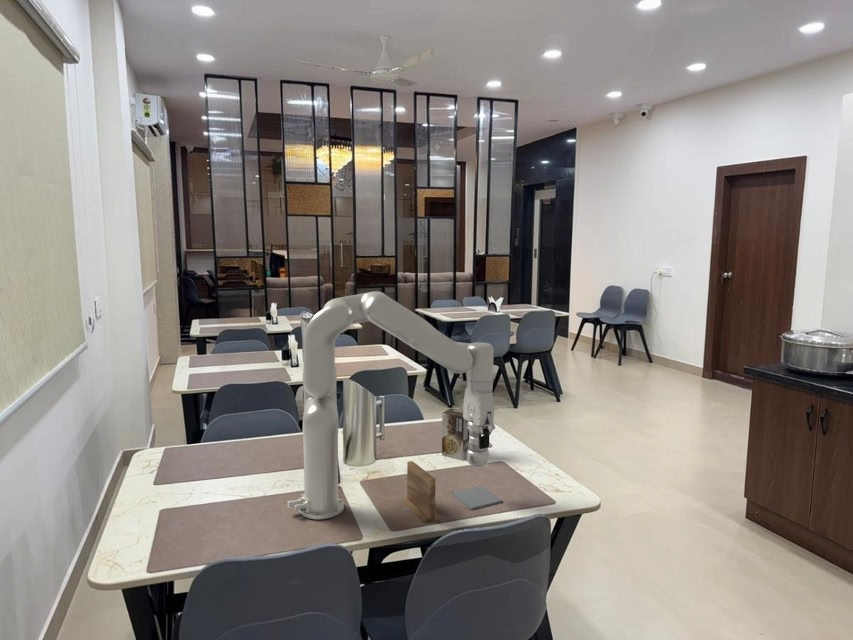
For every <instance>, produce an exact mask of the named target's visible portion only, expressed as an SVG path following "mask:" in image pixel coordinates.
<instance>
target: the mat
mask: <svg viewBox="0 0 853 640" xmlns="http://www.w3.org/2000/svg"><path fill="white" fill-rule="evenodd" d="M450 495H451V496H452V495H453V498H455V499H456V498H457V499H456V500H457V501H459V502H460V501H461V502H462V505H464V506H465V505H466V506H465V507H466V508H467V509H468V510H470V511H473V510H476V508H477V509H480V508H485V507H488V506H492V505H496V504H500V503H503V499H502V498H500V497H498V496H497V495H495V494H494V493H492V492H491V491H490V490H488V489H487V488H486V487H484V486H483V485H479V486H478V485H477V486H474V487H470V488H465V489H461V490H457V491H454V492H451V493H450ZM461 502H460V503H461ZM472 509H473V510H472Z"/></svg>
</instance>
